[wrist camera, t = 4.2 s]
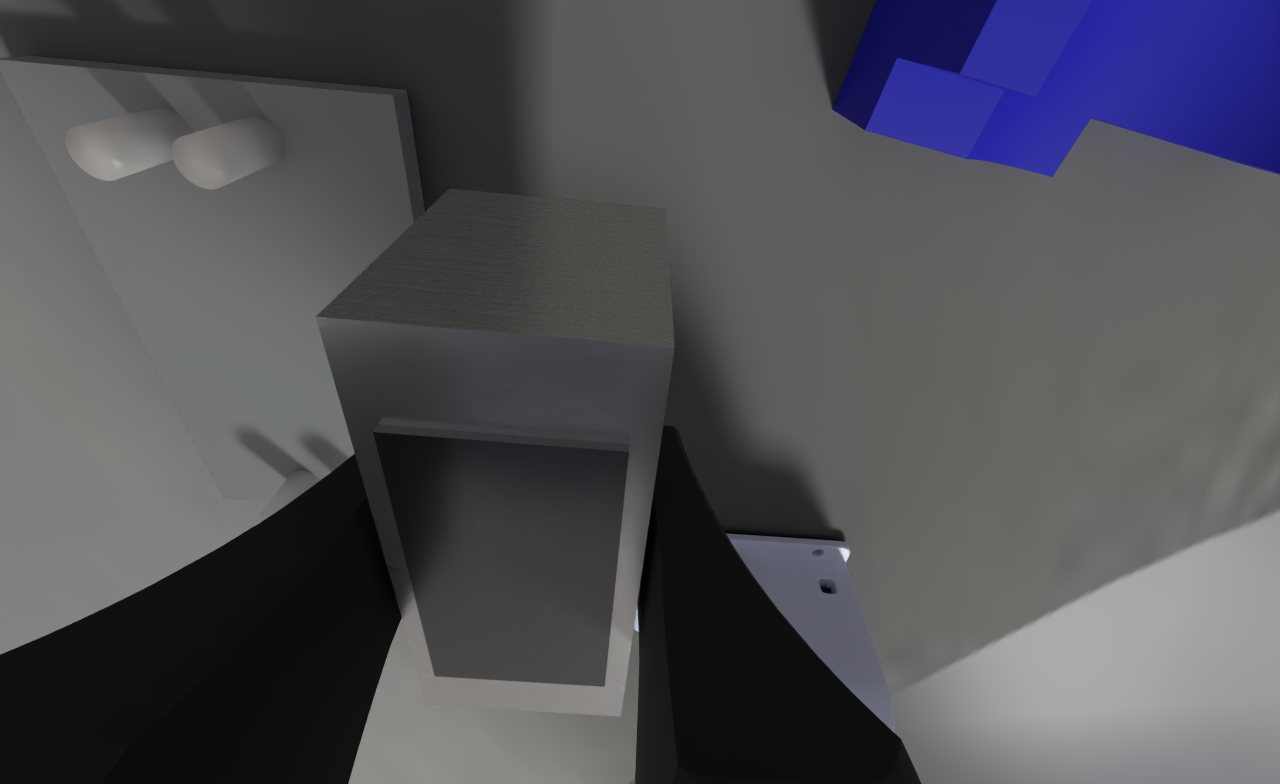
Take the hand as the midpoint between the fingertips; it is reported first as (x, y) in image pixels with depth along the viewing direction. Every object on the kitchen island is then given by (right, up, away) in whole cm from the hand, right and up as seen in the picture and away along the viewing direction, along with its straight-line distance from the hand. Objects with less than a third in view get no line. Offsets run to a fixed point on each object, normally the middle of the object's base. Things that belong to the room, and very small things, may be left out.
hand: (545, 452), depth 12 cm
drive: (0, +1, +1) cm, 2 cm away
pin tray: (-10, +3, +8) cm, 13 cm away
